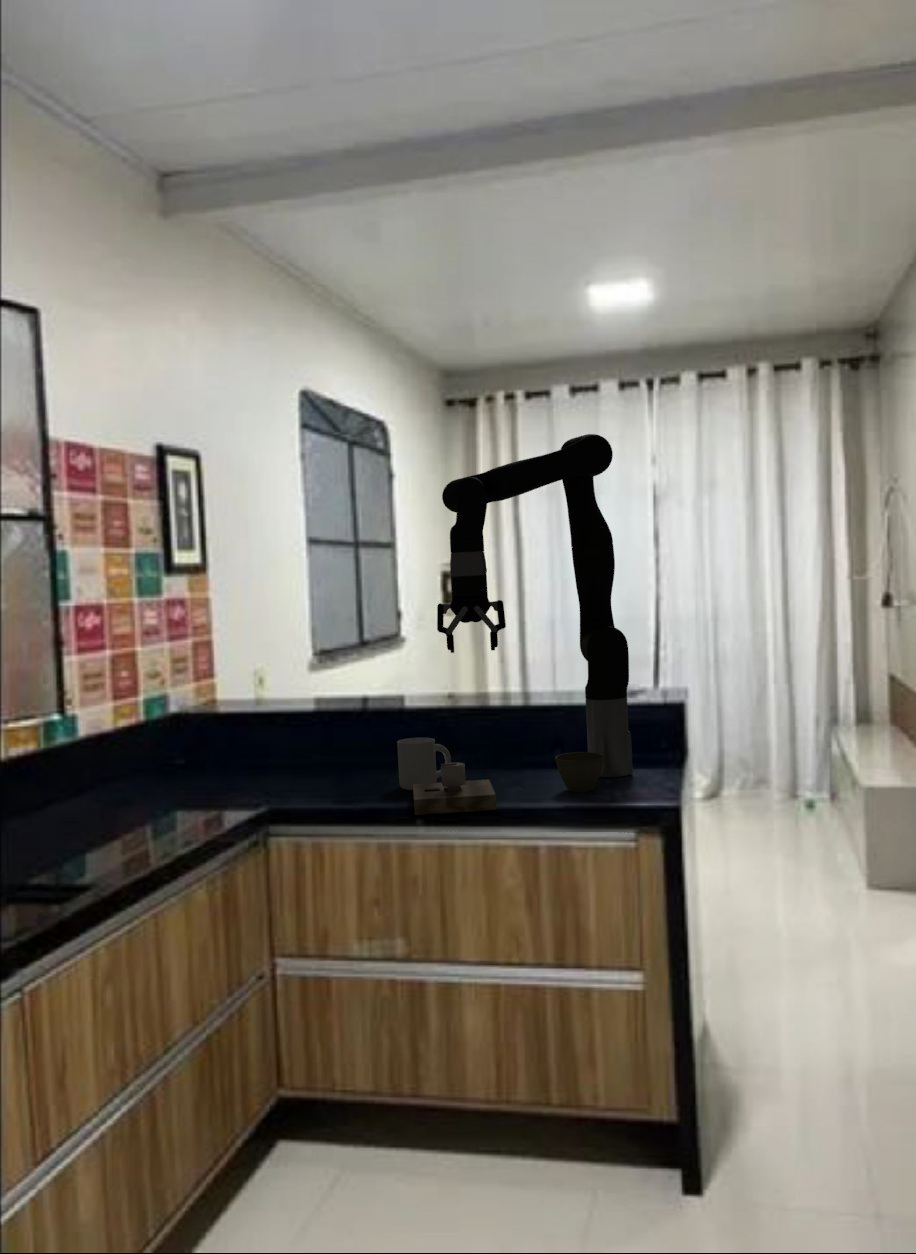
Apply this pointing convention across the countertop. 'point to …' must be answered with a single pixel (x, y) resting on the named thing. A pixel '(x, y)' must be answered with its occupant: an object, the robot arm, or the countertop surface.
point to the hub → (453, 798)
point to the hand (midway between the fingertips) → (472, 651)
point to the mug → (419, 761)
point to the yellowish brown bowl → (579, 770)
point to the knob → (453, 775)
